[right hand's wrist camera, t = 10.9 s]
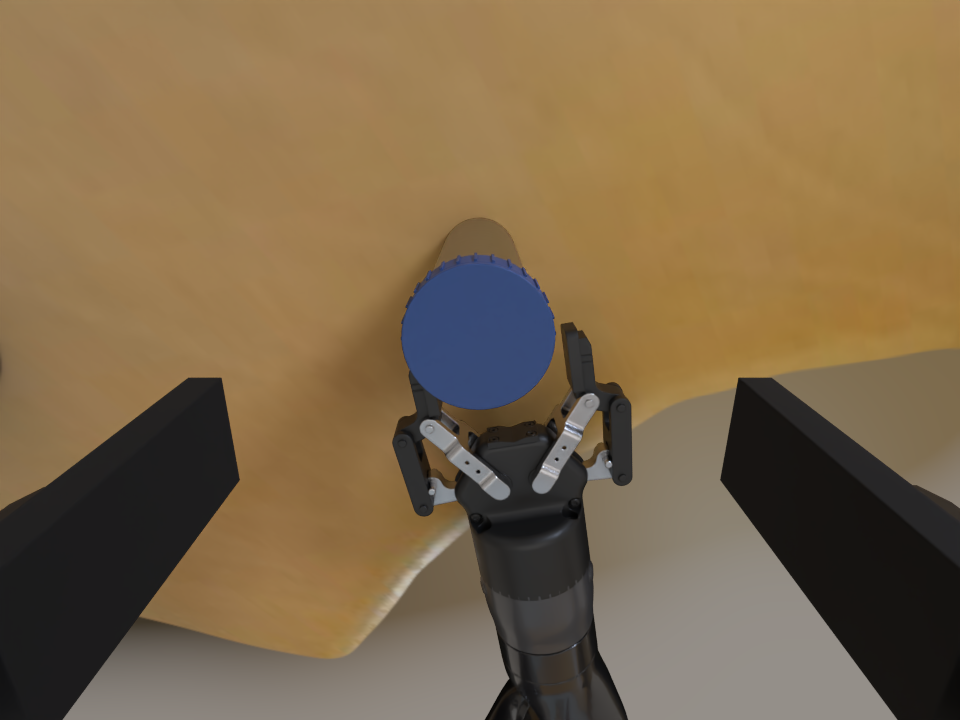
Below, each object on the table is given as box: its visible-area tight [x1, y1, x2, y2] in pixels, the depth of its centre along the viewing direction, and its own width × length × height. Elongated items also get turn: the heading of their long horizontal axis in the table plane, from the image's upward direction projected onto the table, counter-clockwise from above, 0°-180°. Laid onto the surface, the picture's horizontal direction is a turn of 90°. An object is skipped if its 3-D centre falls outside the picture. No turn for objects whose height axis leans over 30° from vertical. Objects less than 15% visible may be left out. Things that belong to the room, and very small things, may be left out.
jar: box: [433, 218, 523, 270], centre depth 28 cm, size 5×5×17 cm
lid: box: [401, 253, 556, 410], centre depth 20 cm, size 6×6×2 cm
